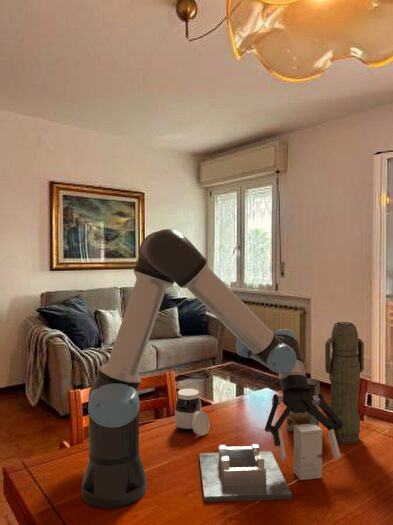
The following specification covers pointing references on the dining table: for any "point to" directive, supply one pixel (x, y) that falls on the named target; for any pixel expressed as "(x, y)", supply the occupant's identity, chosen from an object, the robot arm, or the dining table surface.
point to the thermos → (345, 377)
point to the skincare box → (307, 451)
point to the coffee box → (305, 417)
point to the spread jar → (190, 413)
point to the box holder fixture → (242, 475)
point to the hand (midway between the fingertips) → (310, 458)
